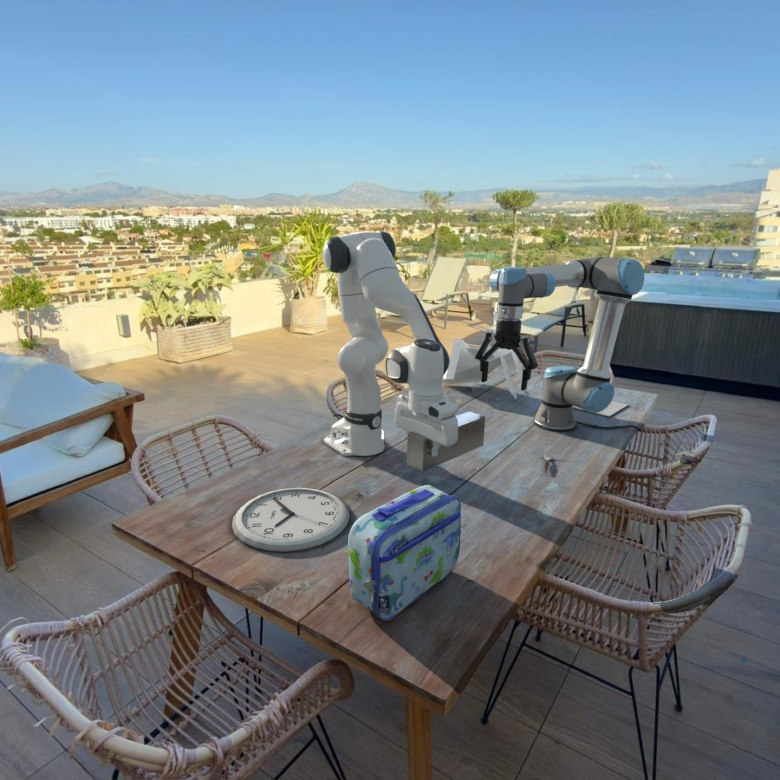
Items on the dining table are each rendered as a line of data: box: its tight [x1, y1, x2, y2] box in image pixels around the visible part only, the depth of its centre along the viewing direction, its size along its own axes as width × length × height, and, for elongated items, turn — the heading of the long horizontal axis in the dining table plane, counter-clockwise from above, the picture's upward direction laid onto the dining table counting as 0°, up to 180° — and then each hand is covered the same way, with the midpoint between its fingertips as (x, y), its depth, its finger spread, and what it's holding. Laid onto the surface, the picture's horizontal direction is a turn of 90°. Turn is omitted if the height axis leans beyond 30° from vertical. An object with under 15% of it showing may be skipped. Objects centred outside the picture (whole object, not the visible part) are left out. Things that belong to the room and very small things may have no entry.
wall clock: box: [231, 487, 351, 553], centre depth 136 cm, size 30×2×30 cm
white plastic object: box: [442, 310, 531, 400], centre depth 245 cm, size 37×45×31 cm
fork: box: [543, 448, 554, 473], centre depth 170 cm, size 3×16×2 cm, turn 160°
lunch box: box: [347, 484, 462, 621], centre depth 107 cm, size 26×11×21 cm, turn 134°
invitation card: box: [573, 400, 629, 418], centre depth 226 cm, size 21×1×15 cm
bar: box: [406, 411, 486, 472], centre depth 147 cm, size 26×6×9 cm, turn 133°
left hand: (423, 450), depth 140 cm, fingers closed on bar, 6 cm apart
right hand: (503, 385), depth 166 cm, fingers open, 13 cm apart
